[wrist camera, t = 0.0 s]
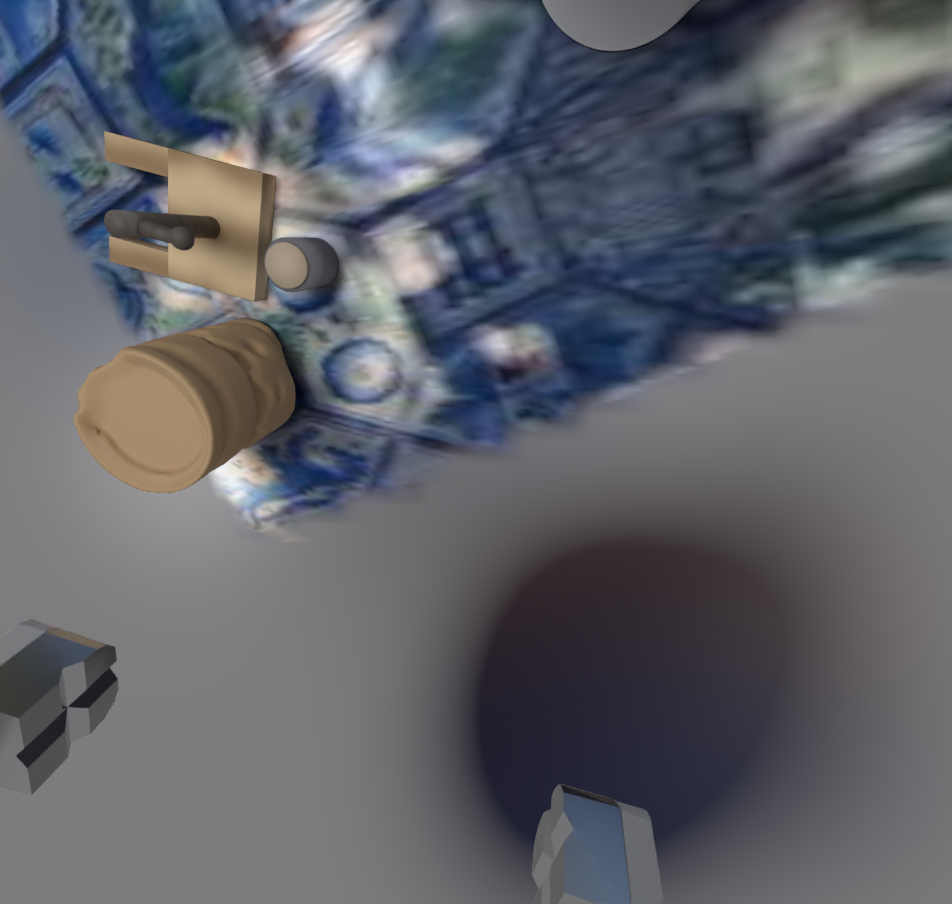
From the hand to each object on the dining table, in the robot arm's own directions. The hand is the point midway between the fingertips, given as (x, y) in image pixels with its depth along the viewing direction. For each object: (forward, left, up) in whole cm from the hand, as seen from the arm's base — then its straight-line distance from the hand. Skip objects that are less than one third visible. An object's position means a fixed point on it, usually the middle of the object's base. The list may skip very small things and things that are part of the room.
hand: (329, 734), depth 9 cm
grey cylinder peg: (-1, -22, -48) cm, 53 cm away
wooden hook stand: (-2, -35, -48) cm, 59 cm away
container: (+13, -28, -48) cm, 57 cm away
